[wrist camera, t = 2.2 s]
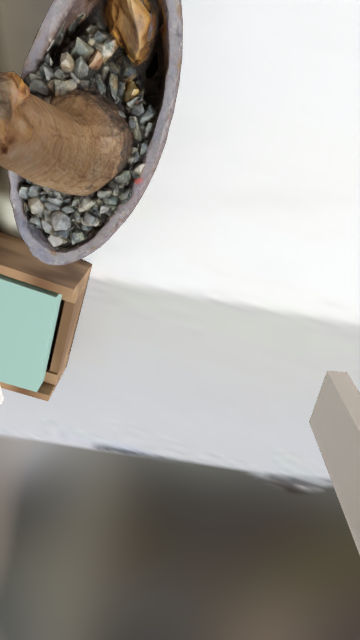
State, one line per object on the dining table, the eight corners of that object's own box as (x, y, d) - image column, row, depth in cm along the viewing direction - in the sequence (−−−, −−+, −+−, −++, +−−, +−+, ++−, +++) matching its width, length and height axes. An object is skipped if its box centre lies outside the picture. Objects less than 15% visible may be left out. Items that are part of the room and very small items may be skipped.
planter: (176, -22, 24) (128, -383, 7) (212, 213, 32) (230, 317, 15) (-10, 33, 26) (-411, -137, 9) (68, 241, 34) (-60, 361, 17)
